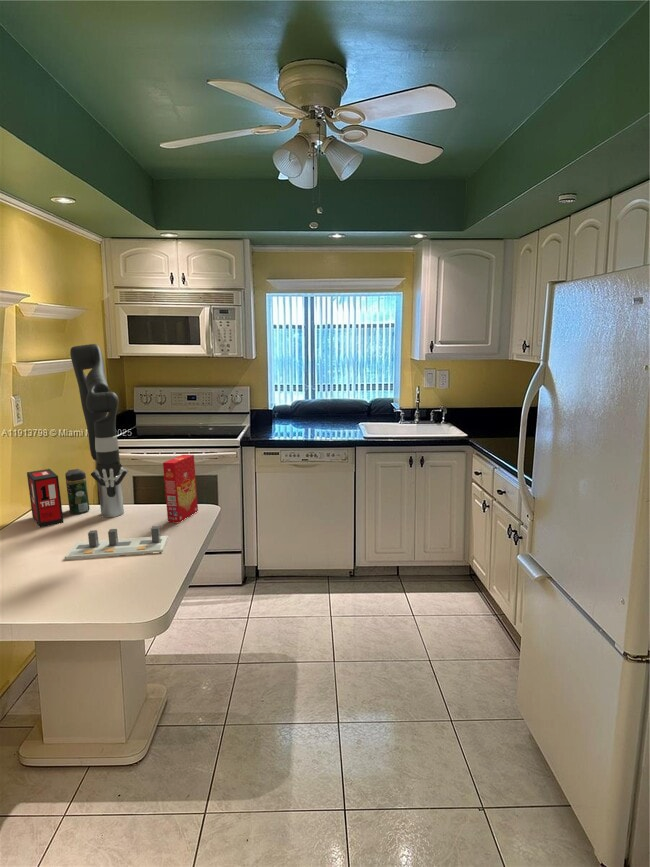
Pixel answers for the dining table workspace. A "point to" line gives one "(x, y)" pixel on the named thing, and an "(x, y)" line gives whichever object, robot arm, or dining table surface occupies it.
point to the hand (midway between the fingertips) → (112, 496)
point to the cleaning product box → (45, 497)
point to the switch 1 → (93, 538)
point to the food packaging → (180, 487)
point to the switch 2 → (155, 533)
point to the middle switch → (113, 536)
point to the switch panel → (116, 548)
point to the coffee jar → (77, 491)
